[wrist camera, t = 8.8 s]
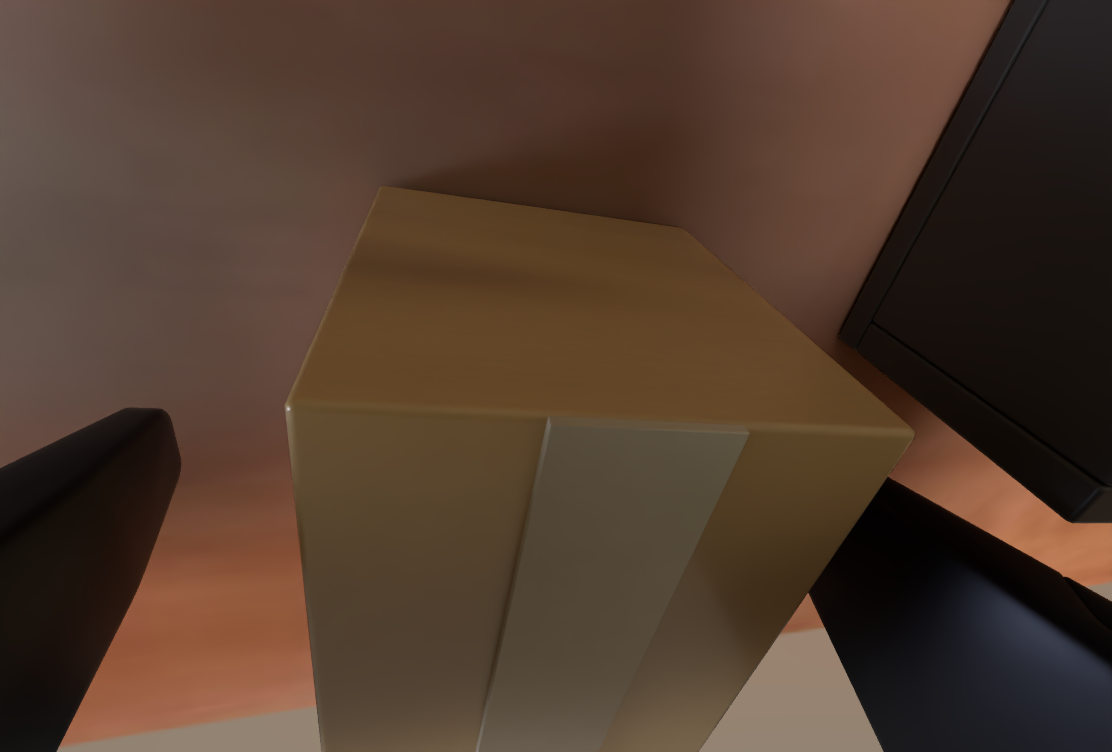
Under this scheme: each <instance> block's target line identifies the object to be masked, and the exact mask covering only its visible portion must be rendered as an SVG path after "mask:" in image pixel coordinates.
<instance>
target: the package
mask: <svg viewBox="0 0 1112 752" xmlns="http://www.w3.org/2000/svg"><path fill="white" fill-rule="evenodd" d="M284 406H285V415H286V424H287V434H288V443H289V452H290V462H291V471H292V480H293V490H294V499H295V508H296V518H297V527H298V536H299V546H300V555H301V564H302V574H303V583H304V592H305V602H306V611H307V620H308V630H309V639H310V648H311V658H312V667H313V676H314V686H315V695H316V704H317V714H318V723H319V732H320V742H321V751H322V752H699V750H700V748H701V747H702V746H703V744H704V743H705V742H706V740H707V739H708V737H709V736H710V734H711V733H712V731H713V730H714V728H715V727H716V726H717V724H718V723H719V721H720V720H721V718H722V717H723V715H724V714H725V713H726V711H727V710H728V708H729V706H730V705H731V704H732V702H733V701H734V699H735V698H736V696H737V695H738V694H739V692H740V691H741V689H742V688H743V686H744V685H745V684H746V682H747V681H748V679H749V678H750V676H751V675H752V673H753V672H754V670H755V669H756V668H757V666H758V665H759V663H760V662H761V660H762V659H763V657H764V656H765V654H766V653H767V652H768V650H769V649H770V647H771V646H772V644H773V643H774V641H775V640H776V638H777V637H778V636H779V634H780V633H781V631H782V630H783V628H784V627H785V625H786V624H787V623H788V621H789V620H790V618H791V617H792V615H793V614H794V612H795V611H796V609H797V608H798V607H799V605H800V604H801V602H802V601H803V599H804V598H805V596H806V595H807V593H808V592H809V591H810V589H811V588H812V586H813V585H814V583H815V582H816V580H817V579H818V578H819V576H820V575H821V573H822V572H823V570H824V569H825V567H826V566H827V564H828V563H829V562H830V560H831V559H832V557H833V556H834V554H835V553H836V551H837V550H838V548H839V547H840V546H841V544H842V543H843V541H844V540H845V538H846V537H847V535H848V534H849V532H850V531H851V530H852V528H853V527H854V525H855V524H856V522H857V521H858V519H859V518H860V517H861V515H862V514H863V512H864V511H865V509H866V508H867V506H868V505H869V503H870V502H871V501H872V499H873V498H874V496H875V495H876V493H877V492H878V490H879V489H880V487H881V486H882V485H883V483H884V482H885V480H886V479H887V477H888V476H889V474H890V473H891V471H892V470H893V469H894V467H895V466H896V464H897V463H898V461H899V460H900V458H901V457H902V456H903V454H904V453H905V451H906V450H907V448H908V447H909V445H910V444H911V442H912V441H913V440H914V437H915V432H914V430H913V428H911V427H910V426H909V425H908V424H907V423H906V422H905V421H903V420H902V419H901V418H900V417H899V416H898V415H897V414H895V413H894V412H893V411H892V410H891V409H890V408H889V407H887V406H886V405H885V404H884V403H883V402H882V401H881V400H879V399H878V398H877V397H876V396H875V395H874V394H873V393H871V392H870V391H869V390H868V389H867V388H866V387H864V386H863V385H862V384H861V383H860V382H859V381H858V380H856V379H855V378H854V377H853V376H852V375H851V374H850V373H848V372H847V371H846V370H845V369H844V368H843V367H842V366H840V365H839V364H838V363H837V362H836V361H835V360H834V359H832V358H831V357H830V356H829V355H828V354H827V353H826V352H824V351H823V350H822V349H821V348H820V347H819V346H818V345H816V344H815V343H814V342H813V341H812V340H811V339H810V338H808V337H807V336H806V335H805V334H804V333H803V332H802V331H800V330H799V329H798V328H797V327H796V326H795V325H794V324H792V323H791V322H790V321H789V320H788V319H787V318H785V317H784V316H783V315H782V314H781V313H780V312H779V311H777V310H776V309H775V308H774V307H773V306H772V305H771V304H769V303H768V302H767V301H766V300H765V299H764V298H763V297H761V296H760V295H759V294H758V293H757V292H756V291H755V290H753V289H752V288H751V287H750V286H749V285H748V284H747V283H745V282H744V281H743V280H742V279H741V278H740V277H739V276H737V275H736V274H735V273H734V272H733V271H732V270H731V269H729V268H728V267H727V266H726V265H725V264H724V263H723V262H721V261H720V260H719V259H718V258H717V257H716V256H714V255H713V254H712V253H711V252H710V251H709V250H708V249H706V248H705V247H704V246H703V245H702V244H701V243H700V242H698V241H697V240H696V239H695V238H694V237H693V236H692V235H690V234H689V233H688V232H687V231H686V230H685V229H683V228H679V227H672V226H665V225H658V224H651V223H644V222H637V221H630V220H623V219H616V218H608V217H601V216H594V215H587V214H580V213H573V212H566V211H559V210H552V209H545V208H538V207H531V206H524V205H517V204H510V203H503V202H496V201H488V200H481V199H474V198H467V197H460V196H453V195H446V194H439V193H432V192H425V191H418V190H411V189H404V188H397V187H390V186H382V187H380V188H379V190H378V193H377V195H376V197H375V199H374V202H373V204H372V206H371V209H370V211H369V213H368V216H367V218H366V220H365V222H364V225H363V227H362V229H361V232H360V234H359V236H358V238H357V241H356V243H355V245H354V248H353V250H352V252H351V254H350V257H349V259H348V261H347V264H346V266H345V268H344V270H343V273H342V275H341V277H340V280H339V282H338V284H337V286H336V289H335V291H334V293H333V296H332V298H331V300H330V302H329V305H328V307H327V309H326V312H325V314H324V316H323V318H322V321H321V323H320V325H319V328H318V330H317V332H316V334H315V337H314V339H313V341H312V344H311V346H310V348H309V350H308V353H307V355H306V357H305V360H304V362H303V364H302V366H301V369H300V371H299V373H298V376H297V378H296V380H295V383H294V385H293V387H292V389H291V392H290V394H289V396H288V399H287V401H286V403H285V405H284Z"/></svg>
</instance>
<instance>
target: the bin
mask: <svg viewBox="0 0 1112 752" xmlns="http://www.w3.org/2000/svg"><path fill="white" fill-rule="evenodd" d="M839 338H840V339H841V340H842V341H843V342H845V343H846V344H847V345H848V346H850V347H851V348H852V349H854V350H856V351H857V352H858V353H859V354H860V355H861V356H862V357H864V358H865V359H866V360H867V361H869V362H870V363H871V364H872V365H874V366H875V367H876V368H877V369H879V370H880V371H881V372H882V373H884V374H885V375H886V376H887V377H889V378H890V379H891V380H892V381H894V382H895V383H896V384H897V385H898V386H900V387H901V388H902V389H903V390H905V391H906V392H907V393H908V394H910V395H911V396H912V397H913V398H915V399H916V400H917V401H918V402H920V403H921V404H922V405H923V406H925V407H926V408H927V409H928V410H930V411H931V412H932V413H933V414H934V415H936V416H937V417H938V418H939V419H941V420H942V421H943V422H944V423H946V424H947V425H948V426H949V427H951V428H952V429H953V430H954V431H956V432H957V433H958V434H959V435H961V436H962V437H963V438H964V439H966V440H967V441H968V442H969V443H970V444H972V445H973V446H974V447H975V448H977V449H978V450H979V451H980V452H982V453H983V454H984V455H985V456H987V457H988V458H989V459H990V460H992V461H993V462H994V463H995V464H997V465H998V466H999V467H1000V468H1002V469H1003V470H1004V471H1005V472H1006V473H1008V474H1009V475H1010V476H1011V477H1013V478H1014V479H1015V480H1016V481H1018V482H1019V483H1020V484H1021V485H1023V486H1024V487H1025V488H1026V489H1028V490H1029V491H1030V492H1031V493H1033V494H1034V495H1035V496H1036V497H1038V498H1039V499H1040V500H1041V501H1042V502H1044V503H1045V504H1046V505H1047V506H1049V507H1050V508H1051V509H1052V510H1054V511H1055V512H1056V513H1057V514H1059V515H1060V516H1061V517H1062V518H1064V519H1065V520H1066V521H1068V522H1071V523H1112V0H1015V1H1014V3H1013V5H1012V7H1011V9H1010V11H1009V12H1008V14H1007V16H1006V18H1005V20H1004V22H1003V24H1002V26H1001V28H1000V30H999V32H998V33H997V35H996V37H995V39H994V41H993V43H992V45H991V47H990V49H989V51H988V52H987V54H986V56H985V58H984V60H983V62H982V64H981V66H980V68H979V70H978V72H977V73H976V75H975V77H974V79H973V81H972V83H971V85H970V87H969V89H968V91H967V92H966V94H965V96H964V98H963V100H962V102H961V104H960V106H959V108H958V110H957V112H956V113H955V115H954V117H953V119H952V121H951V123H950V125H949V127H948V129H947V131H946V132H945V134H944V136H943V138H942V140H941V142H940V144H939V146H938V148H937V150H936V152H935V153H934V155H933V157H932V159H931V161H930V163H929V165H928V167H927V169H926V171H925V173H924V174H923V176H922V178H921V180H920V182H919V184H918V186H917V188H916V190H915V192H914V193H913V195H912V197H911V199H910V201H909V203H908V205H907V207H906V209H905V211H904V213H903V214H902V216H901V218H900V220H899V222H898V224H897V226H896V228H895V230H894V232H893V233H892V235H891V237H890V239H889V241H888V243H887V245H886V247H885V249H884V251H883V253H882V254H881V256H880V258H879V260H878V262H877V264H876V266H875V268H874V270H873V272H872V274H871V275H870V277H869V279H868V281H867V283H866V285H865V287H864V289H863V291H862V293H861V294H860V296H859V298H858V300H857V302H856V304H855V306H854V308H853V310H852V312H851V314H850V315H849V317H848V319H847V321H846V323H845V325H844V327H843V329H842V331H841V333H840V334H839Z"/></svg>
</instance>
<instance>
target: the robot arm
mask: <svg viewBox="0 0 1112 752" xmlns="http://www.w3.org/2000/svg"><path fill="white" fill-rule="evenodd" d="M180 472H181V457H180V452H179V448H178V444H177V440H176V437H175V433H174V429H173V425H172V421H171V418H170V416H169V414H168V413H167V412H166V411H164V410H163V409H157V408H125V409H122V410H120V411H118V412H116V413H114V414H112V415H110V416H108V417H105V418H103V419H101V420H99V421H97V422H95V423H93V424H91V425H89V426H87V427H85V428H83V429H81V430H78V431H76V432H74V433H72V434H70V435H68V436H66V437H64V438H62V439H60V440H58V441H56V442H54V443H52V444H49V445H47V446H45V447H43V448H41V449H39V450H37V451H35V452H33V453H31V454H29V455H27V456H25V457H22V458H20V459H18V460H16V461H14V462H12V463H10V464H8V465H6V466H4V467H2V468H0V752H56V751H57V749H58V747H59V745H60V743H61V741H62V739H63V738H64V736H65V734H66V732H67V730H68V728H69V726H70V724H71V722H72V720H73V718H74V716H75V714H76V712H77V710H78V708H79V706H80V704H81V702H82V700H83V698H84V696H85V694H86V692H87V690H88V688H89V686H90V684H91V682H92V680H93V678H94V676H95V674H96V672H97V670H98V668H99V666H100V664H101V662H102V660H103V658H104V656H105V654H106V652H107V650H108V648H109V646H110V644H111V642H112V640H113V638H114V636H115V634H116V632H117V630H118V628H119V626H120V624H121V622H122V620H123V618H124V616H125V614H126V612H127V610H128V609H129V607H130V604H131V602H132V600H133V598H134V596H135V594H136V592H137V590H138V587H139V585H140V583H141V580H142V578H143V575H144V572H145V570H146V567H147V565H148V562H149V559H150V556H151V554H152V551H153V548H154V545H155V543H156V540H157V537H158V534H159V532H160V529H161V526H162V523H163V521H164V518H165V515H166V512H167V510H168V507H169V504H170V501H171V498H172V496H173V493H174V490H175V487H176V485H177V482H178V479H179V476H180ZM808 593H809V595H810V597H811V599H812V601H813V604H814V606H815V608H816V610H817V612H818V614H819V616H820V618H821V620H822V623H823V625H824V627H825V629H826V631H827V633H828V635H829V637H830V640H831V642H832V644H833V646H834V648H835V650H836V652H837V654H838V656H839V658H840V661H841V663H842V665H843V667H844V669H845V671H846V673H847V675H848V677H849V680H850V682H851V684H852V686H853V688H854V690H855V692H856V694H857V697H858V698H859V701H860V703H861V705H862V707H863V709H864V711H865V713H866V716H867V718H868V720H869V722H870V724H871V726H872V728H873V730H874V732H875V735H876V736H877V739H878V741H879V743H880V745H881V747H882V749H883V751H884V752H1112V601H1109V600H1108V599H1106V598H1104V597H1102V596H1101V595H1099V594H1097V593H1095V592H1093V591H1092V590H1090V589H1088V588H1086V587H1085V586H1083V585H1081V584H1079V583H1077V582H1076V581H1074V580H1072V579H1070V578H1068V577H1063V576H1062V575H1061V574H1060V573H1059V572H1057V571H1056V570H1054V569H1052V568H1050V567H1048V566H1047V565H1045V564H1043V563H1041V562H1040V561H1038V560H1036V559H1034V558H1032V557H1031V556H1029V555H1027V554H1025V553H1023V552H1022V551H1020V550H1018V549H1016V548H1014V547H1013V546H1011V545H1009V544H1007V543H1005V542H1004V541H1002V540H1000V539H998V538H997V537H995V536H993V535H991V534H989V533H988V532H986V531H984V530H982V529H980V528H979V527H977V526H975V525H973V524H971V523H970V522H968V521H966V520H964V519H962V518H961V517H959V516H957V515H955V514H954V513H952V512H950V511H948V510H946V509H945V508H943V507H941V506H939V505H937V504H936V503H934V502H932V501H930V500H928V499H927V498H925V497H923V496H921V495H919V494H918V493H916V492H914V491H912V490H911V489H909V488H907V487H905V486H903V485H902V484H900V483H898V482H896V481H894V480H893V479H891V478H889V477H887V479H886V480H885V482H884V483H883V485H882V486H881V487H880V489H879V490H878V492H877V493H876V495H875V496H874V498H873V499H872V501H871V502H870V503H869V505H868V506H867V508H866V509H865V511H864V512H863V514H862V515H861V517H860V518H859V519H858V521H857V522H856V524H855V525H854V527H853V528H852V530H851V531H850V532H849V534H848V535H847V537H846V538H845V540H844V541H843V543H842V544H841V546H840V547H839V548H838V550H837V551H836V553H835V554H834V556H833V557H832V559H831V560H830V562H829V563H828V564H827V566H826V567H825V569H824V570H823V572H822V573H821V575H820V576H819V578H818V579H817V580H816V582H815V583H814V585H813V586H812V588H811V589H810V591H809V592H808Z"/></svg>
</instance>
